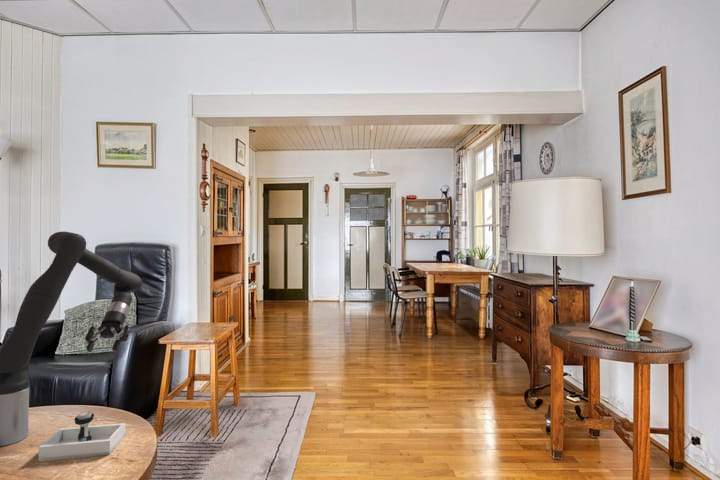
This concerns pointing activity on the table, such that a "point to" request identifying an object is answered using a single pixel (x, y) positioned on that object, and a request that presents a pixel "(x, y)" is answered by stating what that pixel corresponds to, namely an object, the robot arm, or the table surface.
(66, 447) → the tray
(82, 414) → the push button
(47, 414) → the table surface
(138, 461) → the table surface
